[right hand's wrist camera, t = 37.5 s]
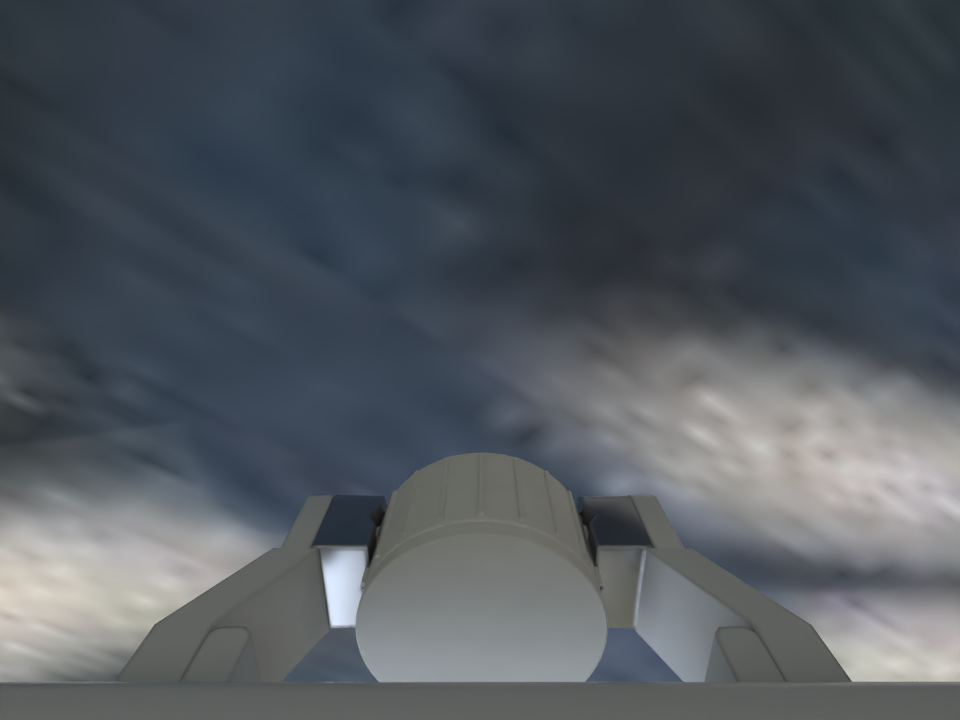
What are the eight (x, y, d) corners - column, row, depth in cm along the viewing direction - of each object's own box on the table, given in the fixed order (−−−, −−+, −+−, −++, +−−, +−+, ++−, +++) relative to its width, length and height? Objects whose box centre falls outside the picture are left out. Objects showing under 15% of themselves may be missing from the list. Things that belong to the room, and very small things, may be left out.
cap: (624, 500, 10) (662, 594, 8) (522, 639, 12) (532, 751, 9) (432, 415, 10) (416, 491, 7) (348, 572, 11) (315, 676, 9)
